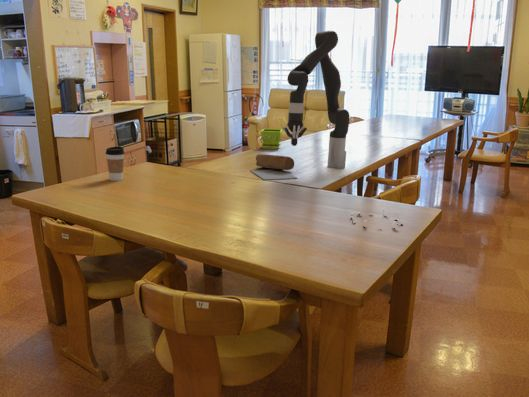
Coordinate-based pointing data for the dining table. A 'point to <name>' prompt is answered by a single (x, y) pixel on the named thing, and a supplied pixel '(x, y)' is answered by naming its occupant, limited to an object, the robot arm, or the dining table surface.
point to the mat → (273, 174)
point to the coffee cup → (115, 162)
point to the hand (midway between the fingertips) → (293, 145)
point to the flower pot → (271, 138)
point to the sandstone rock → (275, 162)
